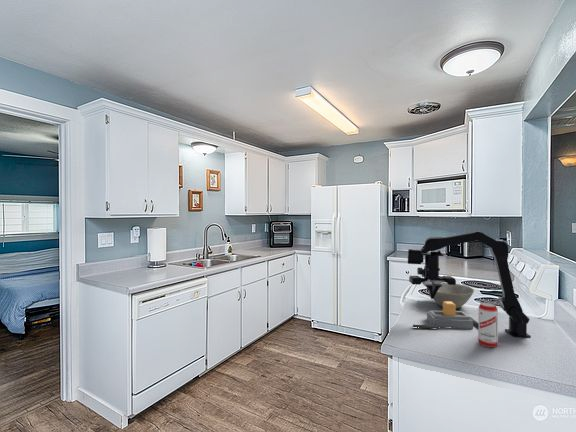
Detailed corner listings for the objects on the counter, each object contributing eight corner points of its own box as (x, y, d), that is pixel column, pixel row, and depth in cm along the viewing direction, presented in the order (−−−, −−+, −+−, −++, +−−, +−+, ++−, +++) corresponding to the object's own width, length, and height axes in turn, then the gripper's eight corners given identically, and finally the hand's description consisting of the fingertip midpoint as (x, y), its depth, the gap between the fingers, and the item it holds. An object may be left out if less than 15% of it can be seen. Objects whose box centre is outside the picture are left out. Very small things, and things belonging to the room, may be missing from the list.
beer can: (479, 339, 121) (479, 300, 120) (498, 344, 117) (498, 303, 116) (477, 345, 116) (477, 304, 115) (496, 350, 112) (497, 308, 111)
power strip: (473, 328, 131) (473, 318, 131) (434, 327, 133) (434, 317, 133) (462, 319, 141) (462, 310, 141) (427, 318, 143) (427, 309, 143)
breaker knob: (455, 317, 135) (455, 304, 134) (446, 316, 135) (446, 303, 135) (451, 313, 138) (451, 301, 138) (442, 313, 139) (442, 301, 139)
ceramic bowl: (470, 302, 165) (470, 284, 165) (477, 316, 144) (477, 296, 144) (426, 297, 175) (426, 280, 174) (426, 310, 154) (426, 291, 153)
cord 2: (482, 329, 130) (482, 325, 130) (478, 328, 131) (478, 325, 131) (470, 319, 141) (470, 316, 141) (466, 319, 141) (467, 316, 141)
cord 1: (439, 329, 131) (439, 326, 130) (413, 329, 132) (413, 325, 132) (438, 328, 132) (438, 324, 132) (412, 327, 133) (412, 324, 133)
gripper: (446, 261, 144) (446, 293, 144) (405, 261, 146) (406, 293, 147) (456, 266, 133) (456, 301, 133) (412, 266, 135) (412, 300, 136)
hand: (432, 298), depth 137 cm, fingers closed
